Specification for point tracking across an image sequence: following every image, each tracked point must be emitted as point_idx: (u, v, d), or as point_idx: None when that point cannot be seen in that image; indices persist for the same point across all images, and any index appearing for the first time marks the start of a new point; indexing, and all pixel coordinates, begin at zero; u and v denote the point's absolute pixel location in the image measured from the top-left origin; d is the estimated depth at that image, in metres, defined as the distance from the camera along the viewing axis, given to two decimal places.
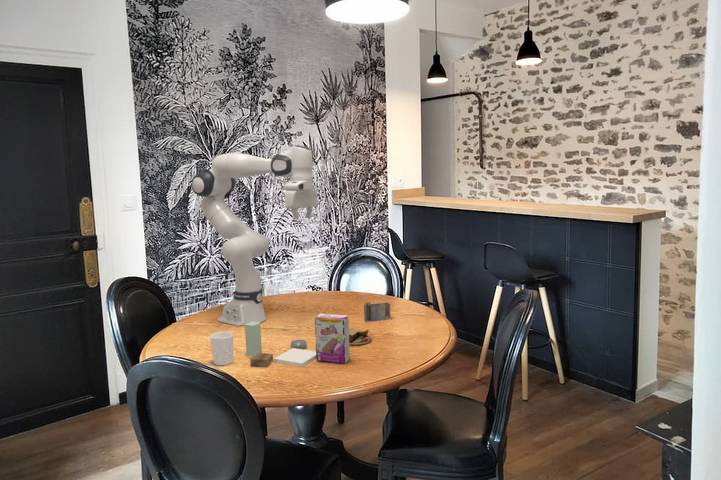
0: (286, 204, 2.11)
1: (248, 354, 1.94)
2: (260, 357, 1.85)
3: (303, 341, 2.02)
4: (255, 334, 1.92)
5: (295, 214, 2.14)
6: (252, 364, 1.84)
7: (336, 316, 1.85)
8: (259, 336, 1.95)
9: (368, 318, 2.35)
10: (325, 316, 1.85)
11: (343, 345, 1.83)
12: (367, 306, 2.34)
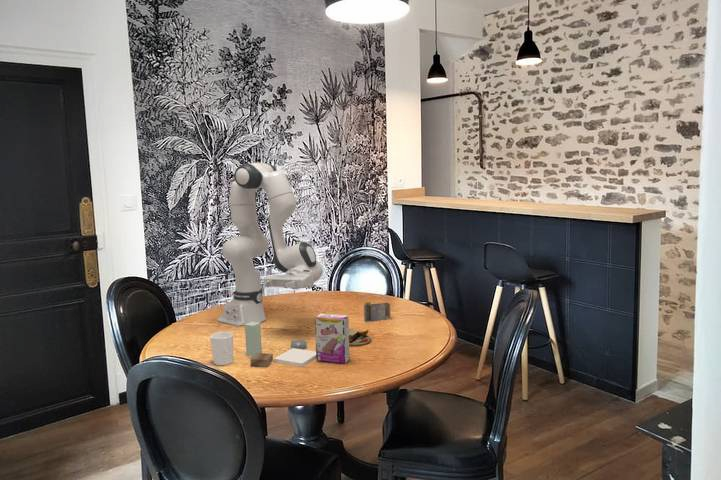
0: (305, 280, 2.06)
1: (248, 354, 1.94)
2: (260, 357, 1.85)
3: (303, 341, 2.02)
4: (255, 334, 1.92)
5: (290, 286, 2.05)
6: (252, 364, 1.84)
7: (336, 316, 1.85)
8: (259, 336, 1.95)
9: (368, 318, 2.35)
10: (325, 316, 1.85)
11: (343, 345, 1.83)
12: (367, 306, 2.34)
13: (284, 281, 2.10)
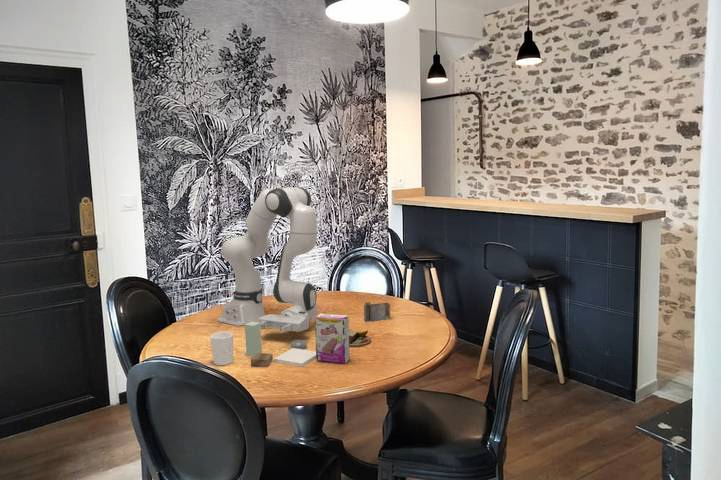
0: (301, 324, 2.05)
1: (248, 354, 1.94)
2: (260, 357, 1.85)
3: (303, 341, 2.02)
4: (255, 334, 1.92)
5: (286, 329, 2.03)
6: (252, 364, 1.84)
7: (336, 316, 1.85)
8: (259, 336, 1.95)
9: (368, 318, 2.35)
10: (325, 316, 1.85)
11: (343, 345, 1.83)
12: (367, 306, 2.34)
13: (279, 323, 2.08)
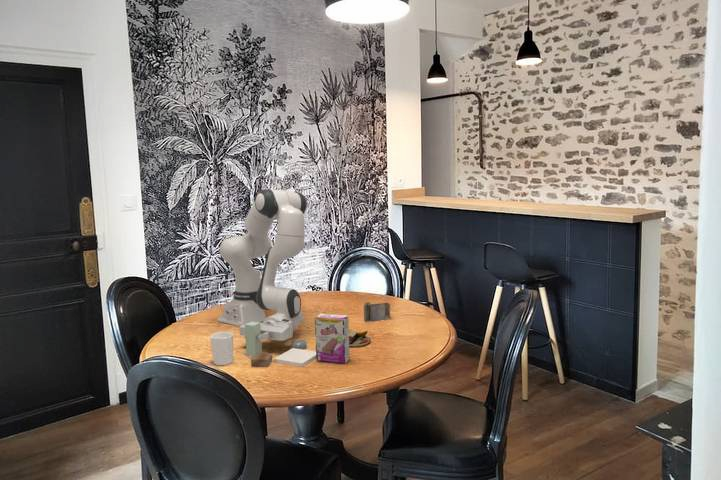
0: (284, 332, 1.95)
1: (248, 354, 1.94)
2: (261, 357, 1.85)
3: (303, 341, 2.02)
4: (255, 334, 1.92)
5: (263, 337, 1.94)
6: (253, 364, 1.84)
7: (336, 316, 1.85)
8: None
9: (368, 318, 2.35)
10: (325, 316, 1.85)
11: (343, 345, 1.83)
12: (367, 306, 2.34)
13: (261, 331, 1.98)
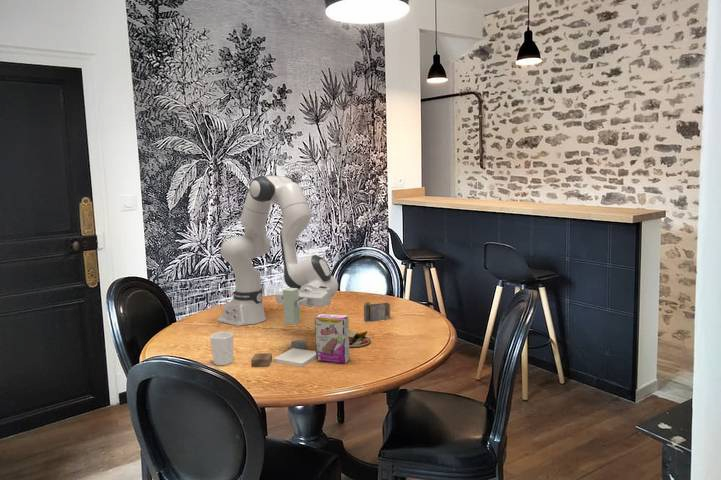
0: (323, 298, 1.88)
1: (286, 321, 1.87)
2: (261, 357, 1.85)
3: (303, 341, 2.02)
4: (293, 300, 1.86)
5: (302, 304, 1.87)
6: (253, 364, 1.84)
7: (336, 316, 1.85)
8: None
9: (368, 318, 2.35)
10: (325, 316, 1.85)
11: (343, 345, 1.83)
12: (367, 306, 2.34)
13: (299, 298, 1.92)
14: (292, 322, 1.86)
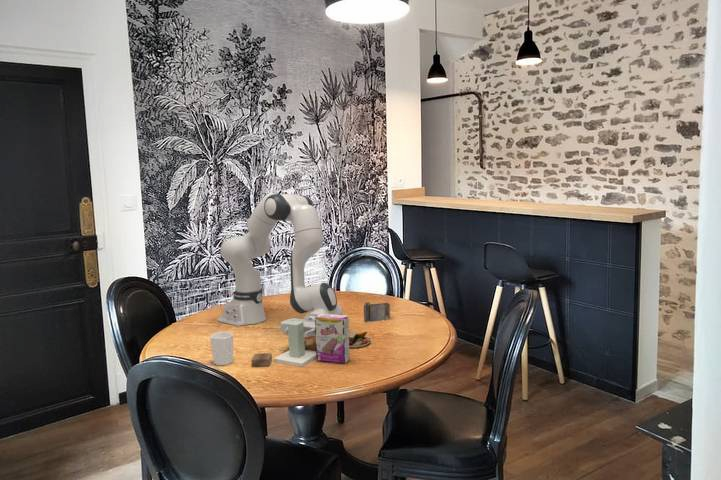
0: None
1: (291, 354, 1.89)
2: (261, 357, 1.85)
3: None
4: (298, 334, 1.87)
5: (309, 334, 1.88)
6: (253, 364, 1.83)
7: (336, 316, 1.85)
8: (302, 336, 1.89)
9: (368, 318, 2.35)
10: (325, 316, 1.85)
11: (343, 345, 1.83)
12: (367, 306, 2.34)
13: (304, 328, 1.93)
14: (297, 356, 1.88)
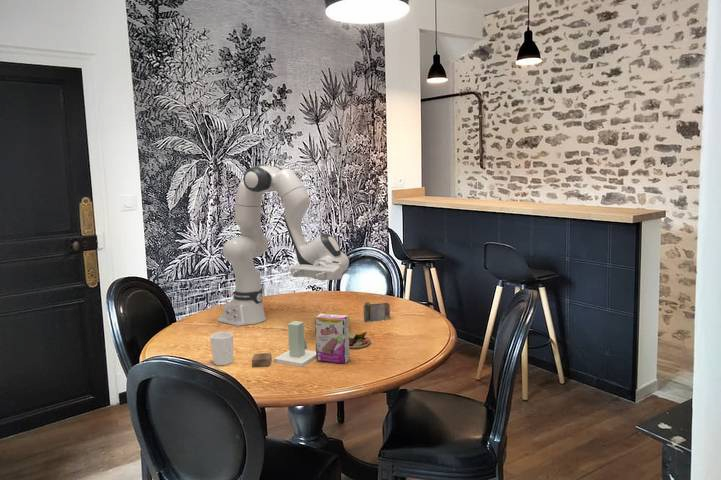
0: (335, 272, 2.00)
1: (291, 354, 1.89)
2: (261, 357, 1.85)
3: None
4: (299, 334, 1.87)
5: (320, 277, 1.98)
6: (254, 365, 1.83)
7: (336, 316, 1.85)
8: (302, 336, 1.89)
9: (367, 318, 2.35)
10: (325, 316, 1.85)
11: (343, 345, 1.83)
12: (366, 306, 2.34)
13: (313, 272, 2.03)
14: (297, 356, 1.88)
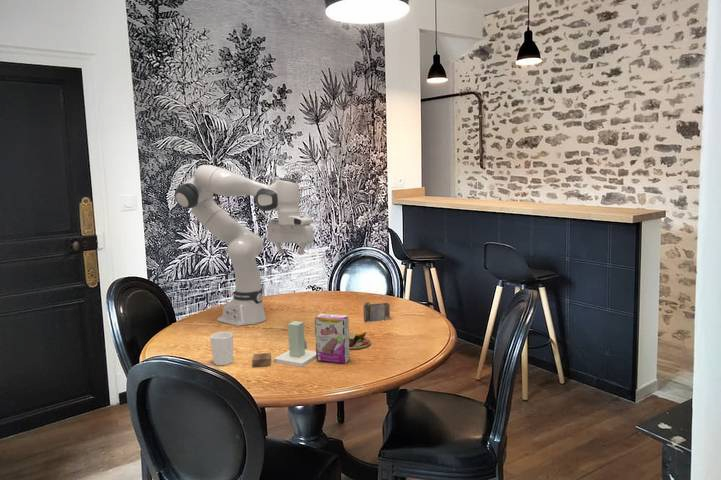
0: (310, 239, 2.05)
1: (291, 354, 1.89)
2: (261, 357, 1.85)
3: None
4: (299, 334, 1.87)
5: (303, 249, 2.09)
6: (254, 365, 1.83)
7: (336, 316, 1.85)
8: (302, 336, 1.89)
9: (367, 318, 2.35)
10: (325, 316, 1.85)
11: (343, 345, 1.83)
12: (366, 306, 2.34)
13: None
14: (297, 356, 1.88)
